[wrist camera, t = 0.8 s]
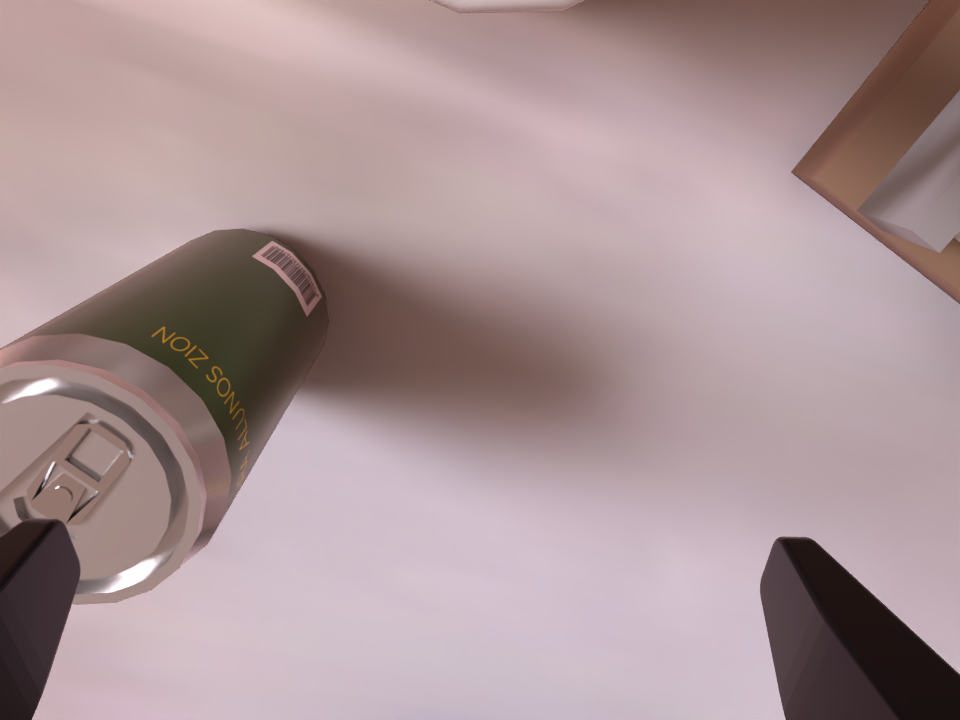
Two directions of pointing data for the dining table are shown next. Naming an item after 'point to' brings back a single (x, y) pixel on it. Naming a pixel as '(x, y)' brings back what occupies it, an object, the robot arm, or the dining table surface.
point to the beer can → (155, 404)
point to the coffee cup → (506, 5)
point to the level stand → (902, 149)
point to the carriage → (957, 236)
